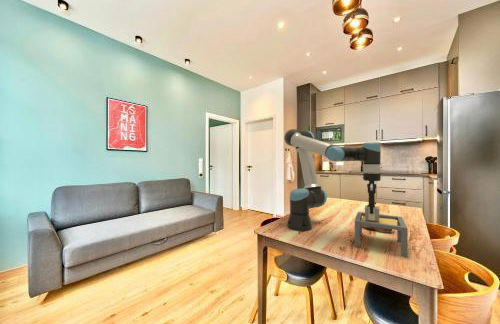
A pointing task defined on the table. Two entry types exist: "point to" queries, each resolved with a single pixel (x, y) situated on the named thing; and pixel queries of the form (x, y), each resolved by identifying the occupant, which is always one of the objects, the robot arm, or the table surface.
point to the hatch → (383, 221)
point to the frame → (401, 228)
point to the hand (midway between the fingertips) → (371, 218)
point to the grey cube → (375, 213)
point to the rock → (378, 228)
